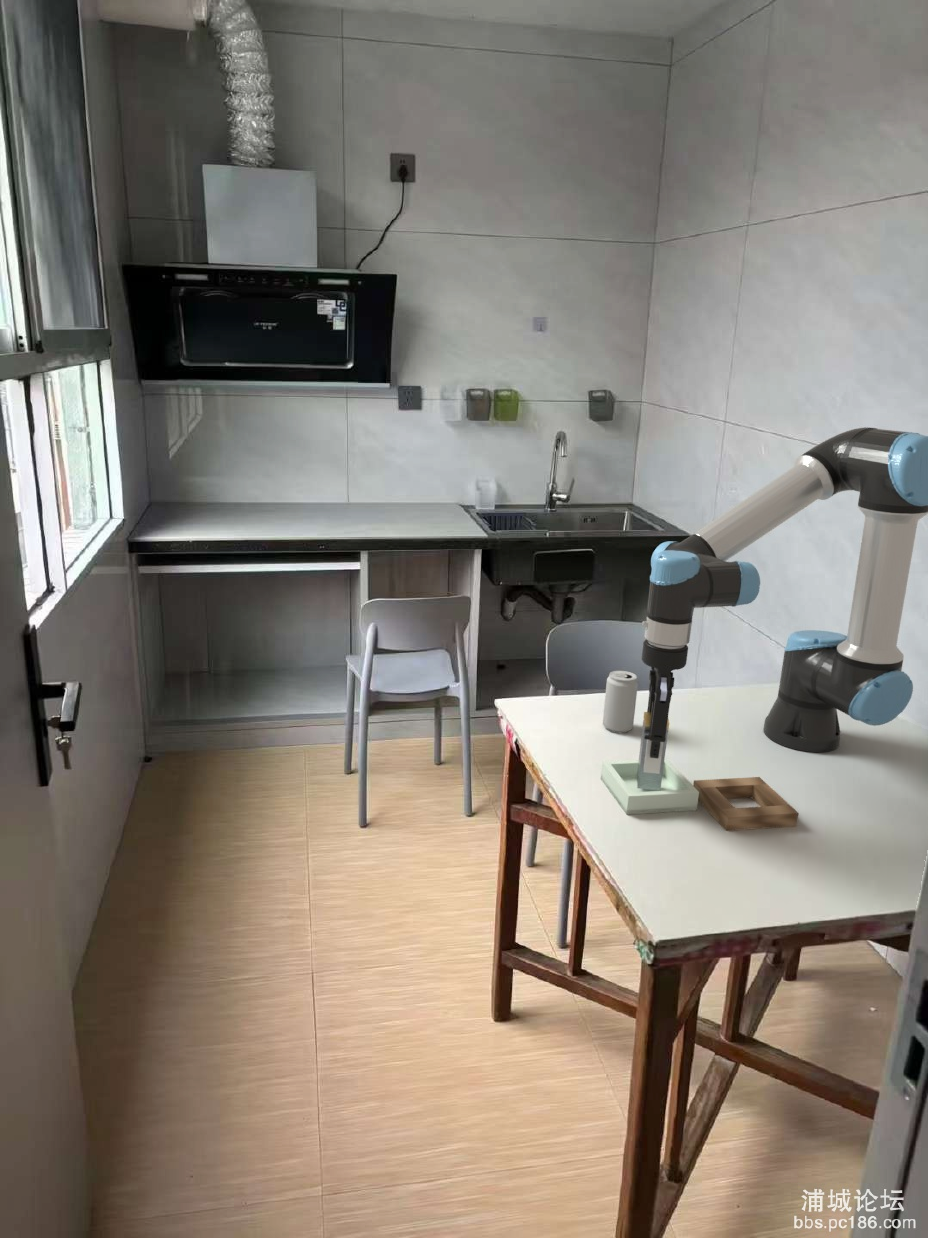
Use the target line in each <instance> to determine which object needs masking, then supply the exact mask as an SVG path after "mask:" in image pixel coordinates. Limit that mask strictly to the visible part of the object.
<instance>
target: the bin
mask: <svg viewBox="0 0 928 1238" xmlns="http://www.w3.org/2000/svg"><path fill="white" fill-rule="evenodd" d="M638 762H639V759H633V760H632V759H631V760H630V759H629V760H627V759H626V760H611V761H609V760H608V761H602V762H601V772H600V780H601V782H602V783H603V784H604V786H605V787H606V788H607V790H608V791H609V792H610V794H611V795H612V797H613V798H614V799H615V801H616V802H617V804H618V805H619V806H620V808H621V809H622V810H623V812H624V814H626V815H639V814H641V815H642V814H655V813H656V814H657V813H673V812H689V811H697V810H698V809H697V808H698V802H699V800H698V797H699V792H698V791H697V789H696V788H695V787H694V786H693V783H692V782H690V781H689V779H688V778H687V777H686V776H685V775H684V774H683V773H682V772H681V770H680V769H678V767H677V766H676V765H675V764H674V763H673V762H672V761H671V760H670V759H669V758H664V766H663V774H662V782H661V789H660V791H657V790H649V789H640V788H637V770H638Z"/></svg>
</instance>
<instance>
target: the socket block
mask: <svg viewBox="0 0 928 1238" xmlns="http://www.w3.org/2000/svg"><path fill="white" fill-rule="evenodd" d="M692 785H693V786H694V787H695V788H696V789H697V791H698V792H699V797H698V802H700V803H701V805H702V806H703V807H704V808H705V809H706V811H708V813H710V814H711V816H712V817H713V818H714V819H715V820H716V821H717V822H718V824H720V826H721V827H722V828H723V829H724V830H725V831H729V832H730V831H741V830H756V829H757V830H758V829H773V828H789V827H797V823H798V820H799V819H798V818H799V812H798V811H797V810H796V809H795V808H794V807H793V806H791V804H790V803H788V802H787V801H786V800H785V799H784V798H783V797H781V796H780V794H779V793H777V792H776V791H775V790H774V789H773V788H772V787H771V786H770V785H769V784H768V783H767V782H766V781H764V780H763V779H762V778H761V777H760V776H752V777H749V776H748V777H735V778H716V779H712V778H711V779H698V780H695V779H694V780H693V783H692ZM742 798H743V799H744V798H750V799H753V800H754V802H755V803H757V804H758V805H759V806H752V807H748V806H747V807H735V806H734V805H733V804H732V803H731V802H730V801H729V800H728V799H742Z"/></svg>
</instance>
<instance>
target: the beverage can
mask: <svg viewBox="0 0 928 1238" xmlns="http://www.w3.org/2000/svg"><path fill="white" fill-rule="evenodd" d="M638 684H639V682H638V677H637V674H635V673H633V672H630V671H626V670H613V671H611V672H609V675H608V677H607V678H606V685H605V695H604V703H603V704H604V705H603V706H604V707H603V716H602V725H603V726H604V728H605V729H606V730H608V731H610V732H612V733H619V734H623V733H628V732H629V731H630V730H632V729H633V728H634V722H635V711H636V703H637V695H638V686H639V685H638Z"/></svg>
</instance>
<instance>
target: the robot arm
mask: <svg viewBox="0 0 928 1238" xmlns="http://www.w3.org/2000/svg"><path fill="white" fill-rule="evenodd" d="M845 491H846V492H847V491H854V492H858V493H859V496H858V501H857V508H858V509H859V510H860V511H861V512H862V514H863V515H864V522H863V524H864V525H863V529H862V537H861V543H860V551H859V556H858V564H857V570H856V576H855V583H854V590H853V597H852V602H851V609H850V616H849V621H848V628H847V635H846V634H843V633H839V632H834V631H827V630H814V629H813V630H811V629H808V630H806V629H805V630H798V631H794V632H792V633H790V635H788V637H787V641H786V642H787V643H786V646H785V648H784V652H783V658H782V659H783V660H782V665H781V673H780V680H779V686H778V687H779V688H778V693H777V697H776V700H775V701H774V702H773V704H772V707H771V709H770V710H769V712H768V714H767V716H766V717H765V719H764V724H763V733H764V734H765V736H766V737H767V738H768V739H769V740H771V741H773V742H774V743H776V744H779V745H781V746H784V747H786V748H789V749H794V750H798V751H803V752H812V753H825V752H831V751H833V750H836V749H837V748H838V747H839V746H840V740H841V727H840V723H839V716H838V711H840V712H841V713H844V714H846V715H847V716H848V717H850V718H851V719H853V720H855V721H858V722H861V723H864V724H866V725H869V726H874V727H875V726H881V725H882V726H883V725H885V724H888V723H890V722H892V721H893V720H895V719H896V718H897V717H898V716H899V715H900V714H901V713H903V711H904V710H905V709H906V707H908V705H909V702H910V701H911V698H912V695H913V691H914V684H913V680H912V679H911V677H910V676H909V675H908V674H907V673H906V672H905V671H902V670H903V663H904V658H905V657H904V653H903V652H902V651H901V650H900V648H898V646H897V644H898V640H899V639H898V637H899V632H900V627H901V620H902V615H903V610H904V603H905V597H906V593H907V585H908V581H909V580H908V579H909V574H910V568H911V564H912V563H911V562H912V559H913V553H914V552H913V551H914V545H915V539H916V533H917V528H918V523H919V521H920V519H922V518H923V517H925V516H927V515H928V435H924V434H920V433H919V432H912V431H911V432H910V431H899V430H891V429H880V428H876V427H868V426H867V427H866V426H865V427H859V428H854V429H850V430H847V431H844V432H841V433H839V434H836V435H835V436H832V437H830V438H828V439H826V440H824V441H822V442H820V443H819V444H817V445H815V446H814V447H812V448H810V449H809V450H807V451H806V452H804V453H803V454H801V455H800V456H798V457H797V458H796V459H795V462H794V465H793V467H791V468H790V469H788V470H787V471H786V472H783V473H782V474H781V475H780V476H778V477H776V478H775V479H773V480H772V481H770V482H769V483H768V484H766V485H764V486H763V487H762V488H760V489H758V490H757V491H755V492H754V493H752V494H751V495H750V496H748V497H747V498H745V499H744V500H742V501H741V502H739V503H738V504H736V505H735V506H734V507H732V508H730V509H728V510H727V511H726V512H724V513H723V514H721V515H720V516H719V517H717V518H715V519H714V520H713V521H711V522H709V523H708V524H707V525H705V526H703V527H702V528H701V529H699V530H698V531H696V532H695V533H693V534H691V535H690V536H688V537H687V538H685V539H683V540H682V541H681V542H679V541H673V540H672V541H669V540H668V541H664V542H662V543H660V544H659V545H658V546H657V547H656V548H655V550H654V551H653V552H652V555H651V558H650V566H651V573H650V575H649V581H650V582H649V592H648V599H647V607H646V608H647V611H646V620H645V621H642V624H641V626H642V627H645V629H644V638H645V640H644V641H643V642H642V651H641V661H642V663H644V665H647V666H648V667H650V668H651V669H650V670H649V675H648V676H649V677H648V678H649V683H648V684H649V685H648V692H649V693H648V701H647V702H648V703H647V709H646V710H647V711H646V712H650V713H651V721H650V731H649V735H645V738H644V739H647V746H646V754H645V762H644V772H646V773H655V774H659V773H660V765H661V757H662V749H663V742H665V740H666V737H665V736H666V728H667V721H668V719H669V712H670V704H671V701H672V696H673V691H672V690H673V688H674V685H675V677H674V671H675V670H677V671H678V670H681V669H683V668H684V667H686V665H687V660H688V651H689V646H688V644H689V643H690V640H691V633H692V632H691V631H692V625H693V615H694V610H695V609H699V608H700V609H702V608H719V607H720V608H721V607H732V608H733V607H734V608H735V607H737V606H743V605H749V604H751V603H753V602H754V601H755V600H756V598H757V597H758V596H759V593H760V587H761V577H760V573H759V571H758V569H757V567H756V566H755V565H754V564H752V563H750V562H749V561H739V560H734V561H727V560H730V559H731V558H733V557H734V556H735V555H737V554H738V553H740V552H742V551H743V550H744V549H746V548H748V547H749V546H750V545H752V544H753V543H755V542H756V541H758V540H759V539H761V538H763V537H764V536H765V535H767V534H769V532H771V531H772V530H774V529H776V528H777V527H779V526H780V525H781V524H783V523H784V522H786V521H788V520H789V519H790V518H792V517H793V516H795V515H796V514H798V513H799V512H801V511H802V510H804V509H805V508H807V507H808V506H810V505H811V504H813V503H814V502H815V501H816V502H817V500H821V501H825V500H826V501H827V500H829V499H830V498H832V497H833V496H834V495H836V494H837V493H841V492H845ZM837 710H838V711H837Z"/></svg>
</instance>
